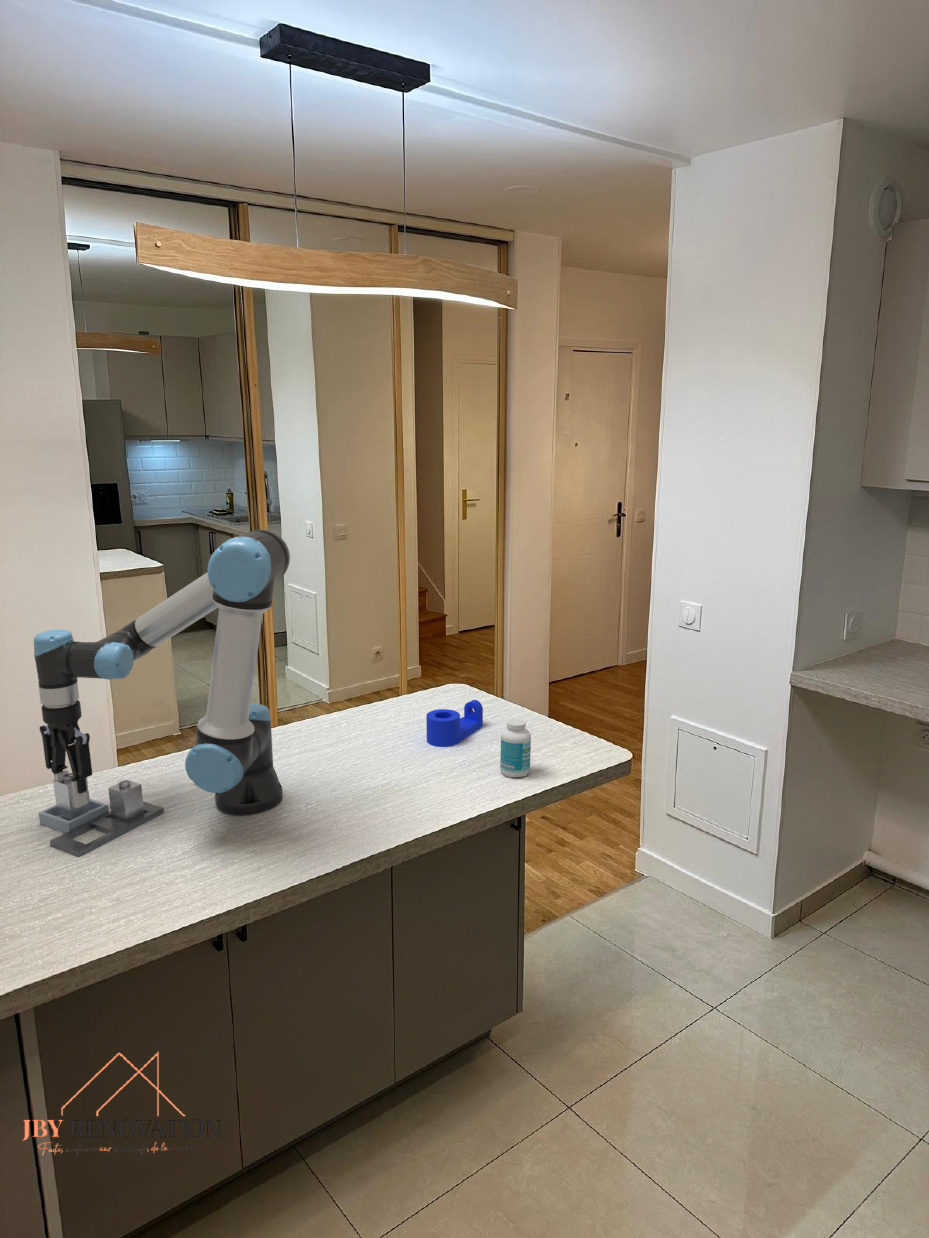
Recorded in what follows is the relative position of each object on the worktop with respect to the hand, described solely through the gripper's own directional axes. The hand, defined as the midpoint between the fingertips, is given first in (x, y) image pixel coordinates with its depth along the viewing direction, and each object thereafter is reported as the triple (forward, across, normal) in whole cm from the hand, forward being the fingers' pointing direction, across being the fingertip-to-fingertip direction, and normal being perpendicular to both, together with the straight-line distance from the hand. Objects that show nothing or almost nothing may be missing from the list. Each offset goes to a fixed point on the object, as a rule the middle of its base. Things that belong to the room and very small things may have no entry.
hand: (72, 802), depth 187 cm
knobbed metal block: (+2, 0, 0) cm, 2 cm away
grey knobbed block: (+4, -10, -6) cm, 12 cm away
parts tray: (+4, 0, 0) cm, 4 cm away
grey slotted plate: (+4, -10, -1) cm, 11 cm away
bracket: (+5, -48, -85) cm, 98 cm away
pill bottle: (+5, -74, -70) cm, 102 cm away
